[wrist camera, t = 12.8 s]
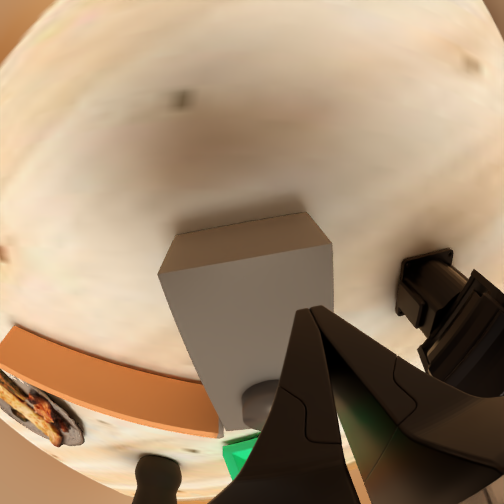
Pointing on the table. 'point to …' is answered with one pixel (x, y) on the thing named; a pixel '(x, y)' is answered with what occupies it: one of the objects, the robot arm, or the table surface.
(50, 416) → the food plate
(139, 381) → the side door
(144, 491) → the cola bottle
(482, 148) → the table surface
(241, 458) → the camera mount
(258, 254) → the camera case
